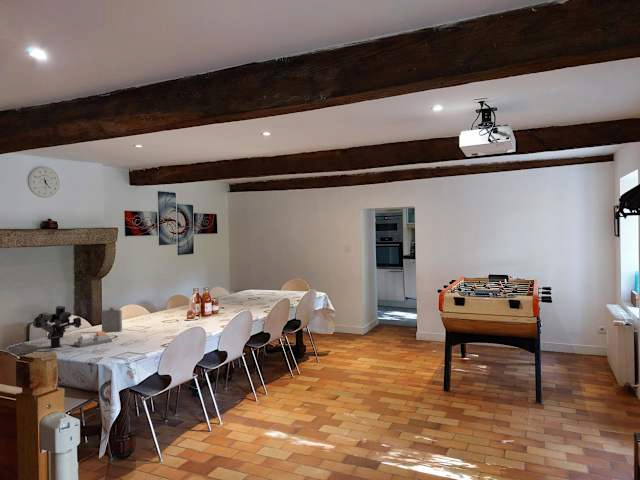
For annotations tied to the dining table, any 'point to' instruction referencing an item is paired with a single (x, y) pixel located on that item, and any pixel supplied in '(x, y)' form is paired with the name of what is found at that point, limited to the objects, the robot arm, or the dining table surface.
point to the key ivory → (85, 336)
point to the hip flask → (111, 320)
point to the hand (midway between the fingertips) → (72, 328)
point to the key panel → (92, 341)
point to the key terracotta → (100, 333)
